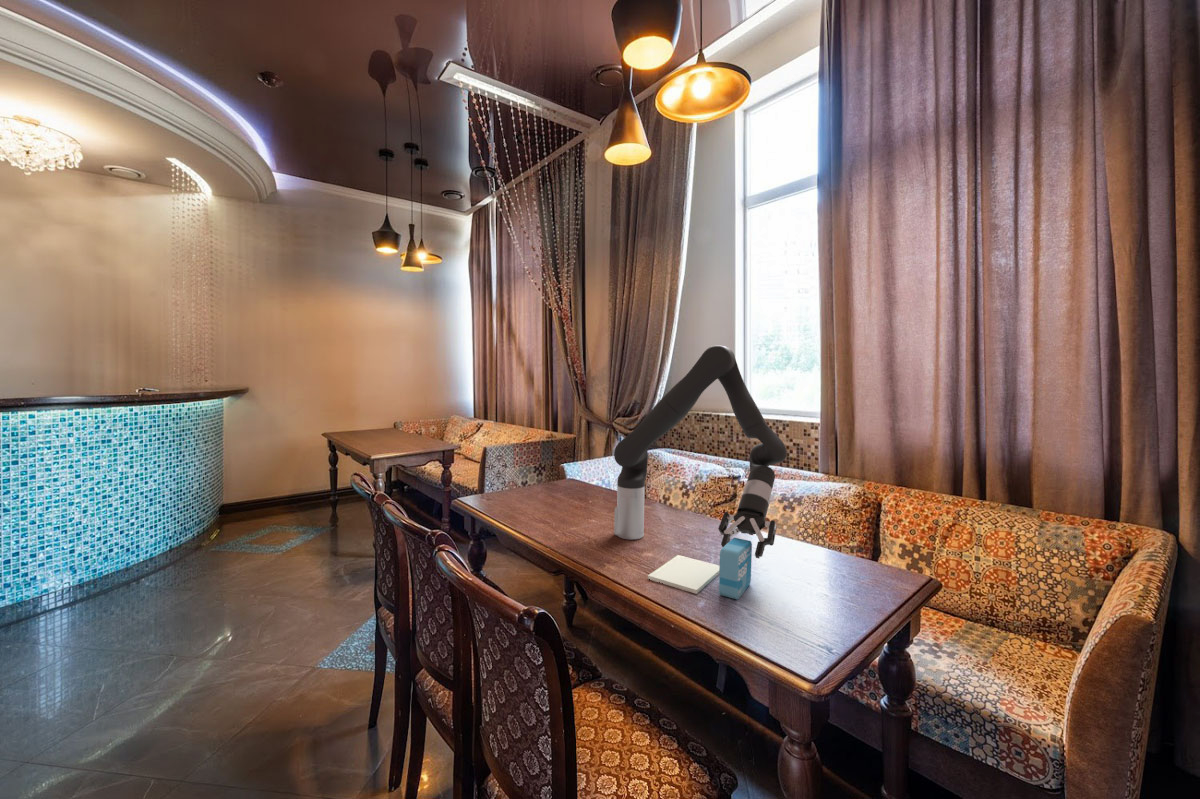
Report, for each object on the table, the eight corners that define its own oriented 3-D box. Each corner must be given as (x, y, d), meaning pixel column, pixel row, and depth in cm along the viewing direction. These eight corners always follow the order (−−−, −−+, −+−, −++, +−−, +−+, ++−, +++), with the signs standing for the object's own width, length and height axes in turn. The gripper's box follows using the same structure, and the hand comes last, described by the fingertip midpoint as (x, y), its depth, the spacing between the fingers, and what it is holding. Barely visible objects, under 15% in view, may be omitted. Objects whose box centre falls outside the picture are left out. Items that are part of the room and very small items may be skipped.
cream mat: (648, 579, 124) (648, 575, 124) (678, 558, 139) (678, 554, 139) (696, 593, 116) (696, 590, 116) (723, 570, 131) (723, 566, 131)
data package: (736, 602, 112) (737, 553, 112) (718, 596, 115) (719, 549, 114) (750, 584, 122) (752, 539, 122) (734, 579, 125) (735, 535, 124)
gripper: (727, 488, 131) (710, 540, 122) (779, 496, 123) (765, 552, 114) (733, 503, 135) (717, 553, 127) (784, 511, 127) (771, 566, 118)
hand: (740, 553), depth 120 cm, fingers open, 8 cm apart
